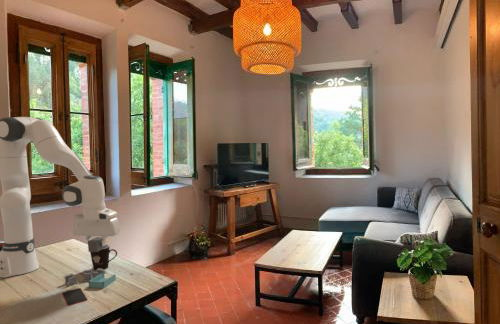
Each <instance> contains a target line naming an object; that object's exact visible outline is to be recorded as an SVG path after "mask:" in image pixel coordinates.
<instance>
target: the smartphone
mask: <svg viewBox="0 0 500 324" xmlns="http://www.w3.org/2000/svg"><path fill="white" fill-rule="evenodd" d="M61 295H62V297H63V300H64V301H65V304H66V306H67V307H68V306H69V307H70V306H73V305H77V304H81V303H85V302H87V301H88V298H87V295H86V294H85V293H84V291H83V289H82V288H81V287H80V288H75V289H71V290H66V291H63V292H61Z"/></svg>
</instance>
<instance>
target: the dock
mask: <svg viewBox="0 0 500 324" xmlns="http://www.w3.org/2000/svg"><path fill="white" fill-rule="evenodd" d="M92 278H93V277H92ZM115 281H117V278H116V274H115V273H114V274H112V275H111V276H109V277H108V278H107V277H106V278H105V277H103V275H102V273H101V274H99V275H98V276H96V277H95V278H93V279H91V280H88V287H89V288H92V289H93V288H97V289H105V288H107V286H109V285H111V284H112V283H113V282H115Z"/></svg>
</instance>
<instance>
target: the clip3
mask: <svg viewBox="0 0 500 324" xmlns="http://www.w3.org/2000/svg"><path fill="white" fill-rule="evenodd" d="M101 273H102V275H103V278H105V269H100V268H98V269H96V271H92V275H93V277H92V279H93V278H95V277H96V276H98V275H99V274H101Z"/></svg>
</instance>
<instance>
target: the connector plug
mask: <svg viewBox="0 0 500 324" xmlns="http://www.w3.org/2000/svg"><path fill="white" fill-rule="evenodd" d="M91 239H92V240H89V241H87V249H88V250H87V251H88V252H89V253H90V252H98V251H100V250H102V249H104V248H106V245H105V246H100V242H101V241H102V240H103V238H102V236H95V237H94V238H91ZM107 242H109V239H108V238H107V239H106V241H105V243H107Z"/></svg>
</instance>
